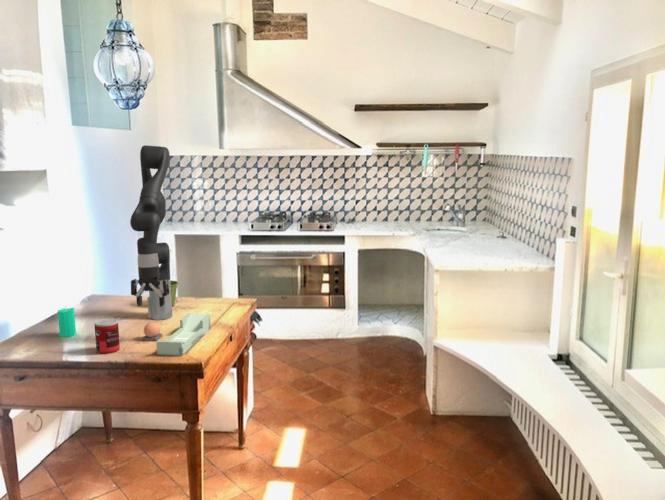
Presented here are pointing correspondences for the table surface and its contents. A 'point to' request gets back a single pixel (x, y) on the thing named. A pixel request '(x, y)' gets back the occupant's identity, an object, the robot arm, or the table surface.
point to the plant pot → (173, 290)
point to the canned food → (107, 336)
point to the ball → (152, 329)
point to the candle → (66, 322)
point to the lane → (185, 335)
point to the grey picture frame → (152, 338)
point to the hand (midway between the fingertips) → (151, 306)
